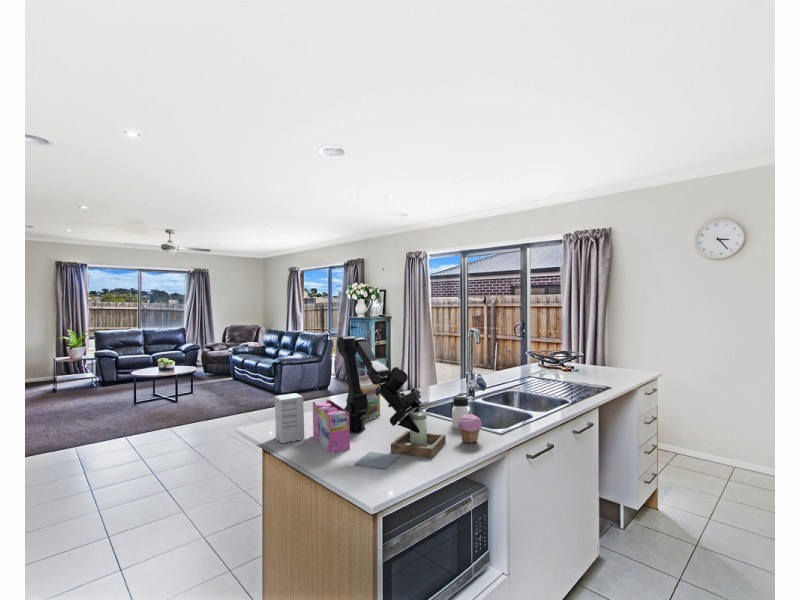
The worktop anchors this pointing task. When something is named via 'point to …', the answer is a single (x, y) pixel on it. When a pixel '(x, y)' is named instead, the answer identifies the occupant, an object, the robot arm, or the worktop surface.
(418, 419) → the plastic jar
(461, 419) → the cupcake
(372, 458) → the rubber mat
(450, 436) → the worktop surface
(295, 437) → the supplement box
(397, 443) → the walnut frame
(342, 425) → the gum box
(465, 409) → the medicine bottle
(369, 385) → the milk carton
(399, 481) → the worktop surface
